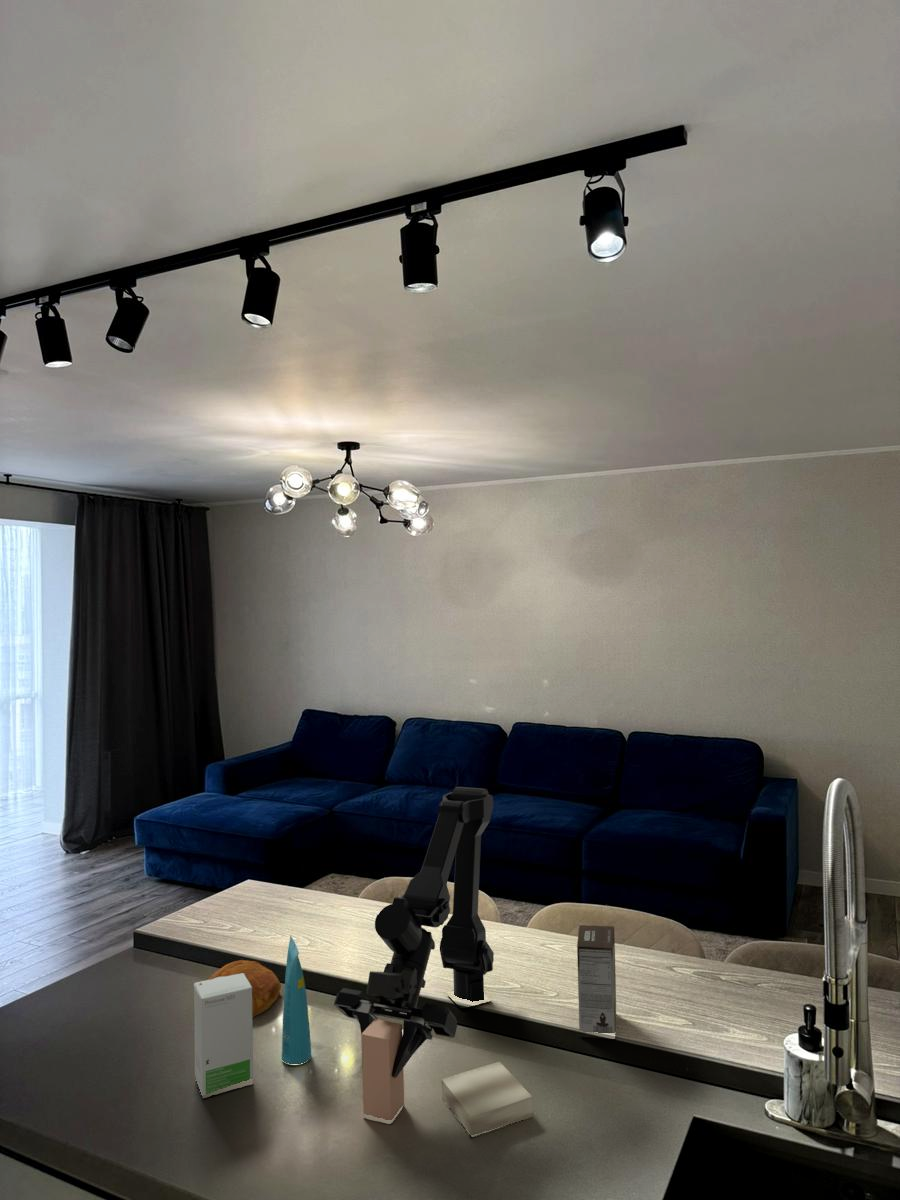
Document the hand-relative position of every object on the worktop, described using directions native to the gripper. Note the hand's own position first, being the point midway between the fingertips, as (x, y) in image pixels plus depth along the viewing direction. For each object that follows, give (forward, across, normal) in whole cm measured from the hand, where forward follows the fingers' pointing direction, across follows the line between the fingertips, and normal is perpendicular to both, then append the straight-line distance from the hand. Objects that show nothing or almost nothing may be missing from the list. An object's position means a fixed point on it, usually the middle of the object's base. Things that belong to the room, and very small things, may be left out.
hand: (378, 1073), depth 118 cm
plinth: (-1, +14, +10) cm, 17 cm away
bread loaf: (-10, -40, +20) cm, 46 cm away
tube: (-2, -20, +11) cm, 23 cm away
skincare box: (+5, -28, +5) cm, 28 cm away
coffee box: (-20, +25, +30) cm, 44 cm away
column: (+4, 0, +6) cm, 7 cm away
